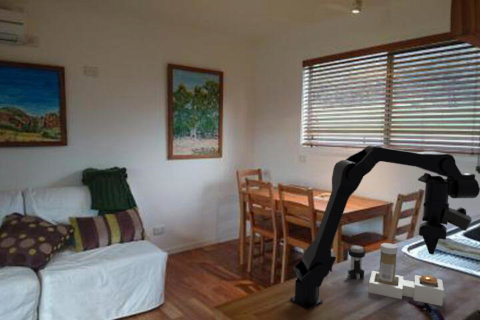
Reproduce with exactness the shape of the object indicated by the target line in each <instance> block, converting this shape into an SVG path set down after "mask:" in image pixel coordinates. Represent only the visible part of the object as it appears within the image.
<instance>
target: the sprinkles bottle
mask: <svg viewBox="0 0 480 320" xmlns="http://www.w3.org/2000/svg"><path fill="white" fill-rule="evenodd" d="M379 248H380V250H379V251H380V259H379V268H378V269H379V271H378V272H379V283H384V284H389V285H394V282H395V275H396V267H397V254H398V246H397V245H396V244H394V243H389V242H384V243H381V244H380V247H379Z"/></svg>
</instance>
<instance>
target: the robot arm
mask: <svg viewBox="0 0 480 320" xmlns="http://www.w3.org/2000/svg"><path fill="white" fill-rule="evenodd" d="M454 157H455V156H453V155H452V154H450V153H444V152H439V151H420V152H418V151H416V152H415V151H406V150H400V149H395V148H390V147H389V148H388V147H382V146H380V145H375V144H369V145H367V146H366V147H365V148H363V149H362V150H359V151H358V152H356V153H354V154H352V155H350V156H348V157H347V158H346V159H342V160H339V161H337V162H336V163H335V165H334V166H333V169H332V175H331V193H330V195H329V198H328V201H327V203H326V207H325V210H324V212H323V216H322V219H321V222H320V224H319V227H318V229H317V233H316V235H315V238H314V239H313V241H312V242H311V243H309V245H308V246H307V248H306V249H305V251H304V253H303V255H302V256H301V259H300V260H299V261H298V262H297V263H296V264H295V265H294V266H293V270H294V273H295V274H296V276H297V277H296V280H295V283H294V284H295V286H294V287H295V288H294V296H292V297H290V299H289V301H292V302H293V303H295V304H297V305H299V306H300V307H303V308H304V309H306V310H310V309H312V308H314V307H317V306H318V305H320V304H322V303H324V300H323V299H322V298H320V287H321V286H322V284H323V281H324V280H325V278H326V277H327V276H328V274H329V273H332V272H333V265H334V263H335V261H336V255H334V253H333V252H332V245H333V243H334V240H335V237H336V234H337V232H338V229H339V226H340V223H341V221H342V217H343V215H344V212H345V211H346V207H347V204H348V201H349V198H350V197H351V195H352V194H354V193H355V192H356V191H357V189H358V188H359V186H360V184H361V183H362V181H363V179H364V177H365V176H366V175H368V174H369V173H370V172H371V171H372V170H373V169H374V167H375V166H376V165H377V164H378V163H379V162H383V163H384V162H385V163H390V164H395V165H396V164H397V165H402V166H408V167H409V166H410V167H416V168H418V169H421V170H424V171H427V172H424V174H423V175H421V176H420V177H418V178H417V180H418V182H422V183H424V185H425V188H424V200H423V205H422V206H423V211H422V212H423V213H422V217H421V221H423V223H421V224H420V225H419V228H418V236H420V237H422V239H423V241H424V244H425V246H426V248H427V249H426V250H427V252H428V254H429V255H432V256H433V255H434V254H435V251H436V248H437V247H438V246H437V245H438V243H439V241H440V240H446V239H447V232H448V231H447V230H448V229H447V227H446V226H447V225H448V223H449V224H451V225H453V226H454V227H457V228H459V229H460V230H461V231H463V232H465V231H467V230H468V228H469V226H470V225H471V223H472V217H471V216H470V215H469V214H467V209H466V208H464V207H461V206H460V207H458V208H457V209H455V208H451V207H450V203H449V197H450V198H451V199H475V198H477V197H478V196H479V194H480V184H479V182H478V180H477V179H476V174H474V173H471V172H465V173H462V172H461V171H460V168H459V167H458V165H457V163H456V159H455V158H454ZM428 172H429V173H428ZM430 173H433V174H437V175H432V174H430ZM443 177H445V178H443ZM445 225H446V226H445Z"/></svg>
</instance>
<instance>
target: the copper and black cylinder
mask: <svg viewBox="0 0 480 320" xmlns="http://www.w3.org/2000/svg"><path fill="white" fill-rule="evenodd" d="M420 276H421V284H423V285H428V286H433V287H436V283H437V279H438V278H436V277H435V276H433V275H427V274H423V275H420Z"/></svg>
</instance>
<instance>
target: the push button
mask: <svg viewBox="0 0 480 320" xmlns="http://www.w3.org/2000/svg"><path fill="white" fill-rule="evenodd" d="M347 251H348V255H349V256H350V267H349V269H347V273H346V274H344V276H345V277H343V278H344V279H349V280H351V281H354V280H360V279H361V280H364V278H365V270H364V269H362V268H363V267H362V263H363V260H362V259H363V258H364V257H366V254H367V251H366V249H364V247H363V246H361V245H357V244H353V245H351V246H350V247H348V249H347Z"/></svg>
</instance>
